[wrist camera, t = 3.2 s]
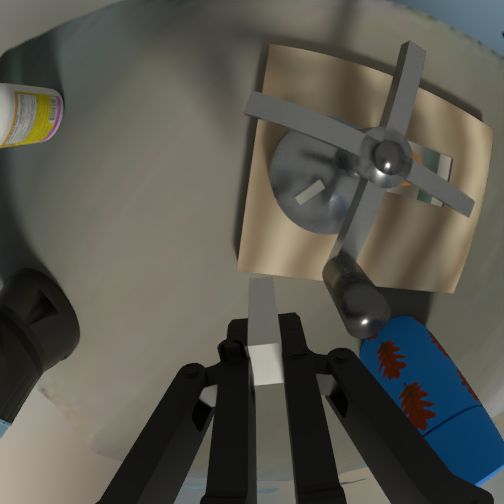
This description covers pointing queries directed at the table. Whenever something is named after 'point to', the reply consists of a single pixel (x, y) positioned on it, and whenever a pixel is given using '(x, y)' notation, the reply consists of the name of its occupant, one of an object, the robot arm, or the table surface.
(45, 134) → the supplement bottle
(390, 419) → the robot arm
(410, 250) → the stand base
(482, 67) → the table surface
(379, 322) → the grey cross
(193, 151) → the table surface
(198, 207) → the table surface
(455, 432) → the thermos
